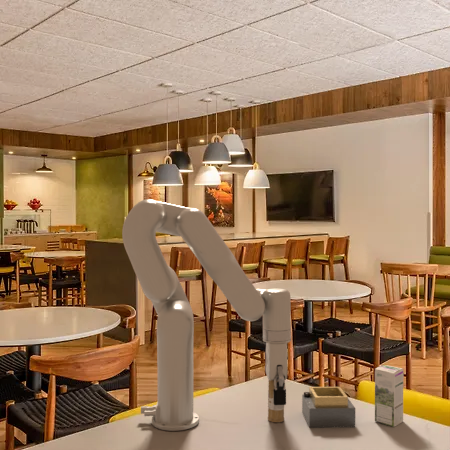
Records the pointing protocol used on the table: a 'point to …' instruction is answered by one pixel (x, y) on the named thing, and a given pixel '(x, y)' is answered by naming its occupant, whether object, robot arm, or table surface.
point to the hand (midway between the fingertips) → (277, 398)
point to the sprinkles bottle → (274, 406)
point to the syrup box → (389, 395)
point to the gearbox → (327, 408)
